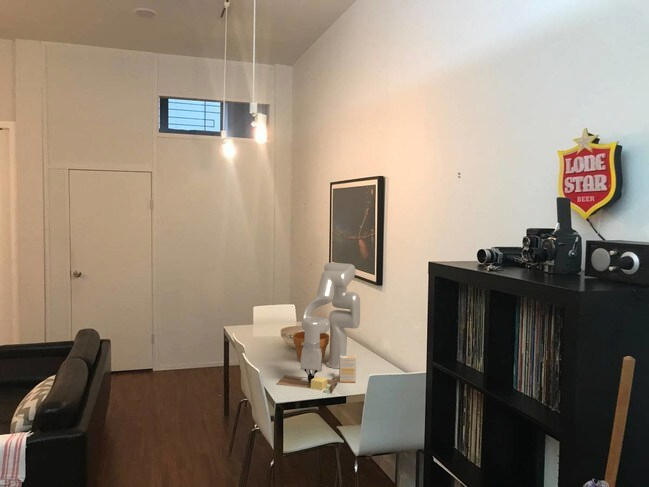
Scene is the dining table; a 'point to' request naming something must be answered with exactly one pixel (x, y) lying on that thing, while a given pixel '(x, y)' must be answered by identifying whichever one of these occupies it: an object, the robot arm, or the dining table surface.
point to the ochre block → (318, 383)
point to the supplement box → (347, 368)
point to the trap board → (305, 383)
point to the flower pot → (300, 338)
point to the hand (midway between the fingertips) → (310, 382)
